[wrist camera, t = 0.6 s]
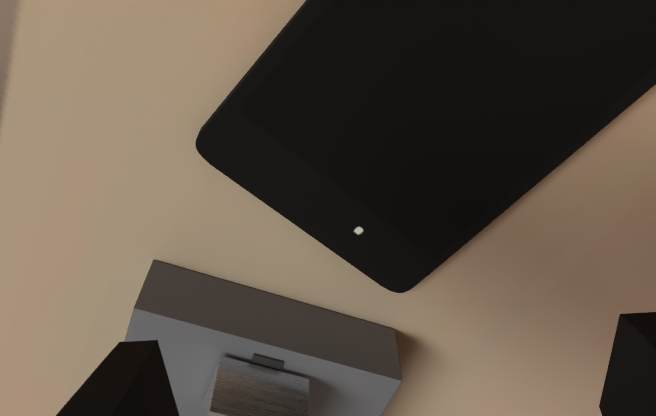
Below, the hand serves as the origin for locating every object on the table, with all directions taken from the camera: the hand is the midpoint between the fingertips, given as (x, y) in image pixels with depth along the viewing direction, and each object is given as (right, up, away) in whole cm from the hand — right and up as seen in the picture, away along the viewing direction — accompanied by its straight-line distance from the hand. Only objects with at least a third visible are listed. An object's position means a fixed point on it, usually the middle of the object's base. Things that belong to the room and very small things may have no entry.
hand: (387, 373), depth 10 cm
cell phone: (+4, +8, +7) cm, 12 cm away
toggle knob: (-3, -3, +11) cm, 12 cm away
